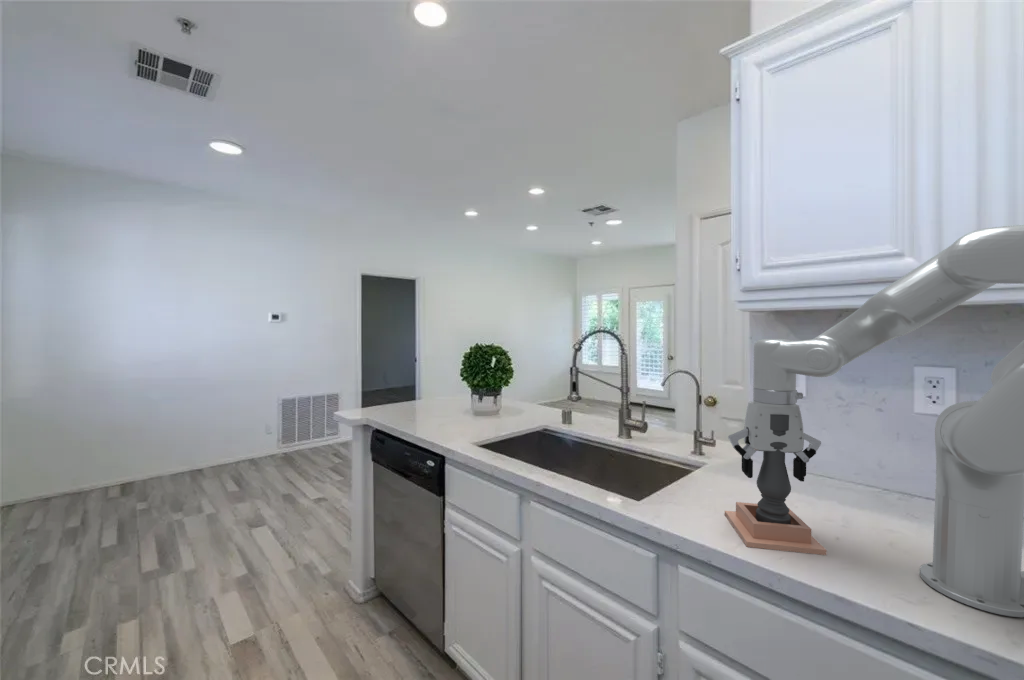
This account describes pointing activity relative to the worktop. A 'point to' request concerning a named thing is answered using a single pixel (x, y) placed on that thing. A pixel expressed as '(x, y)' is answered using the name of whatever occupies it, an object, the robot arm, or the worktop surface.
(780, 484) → the candle holder
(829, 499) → the worktop surface
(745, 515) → the square tray
